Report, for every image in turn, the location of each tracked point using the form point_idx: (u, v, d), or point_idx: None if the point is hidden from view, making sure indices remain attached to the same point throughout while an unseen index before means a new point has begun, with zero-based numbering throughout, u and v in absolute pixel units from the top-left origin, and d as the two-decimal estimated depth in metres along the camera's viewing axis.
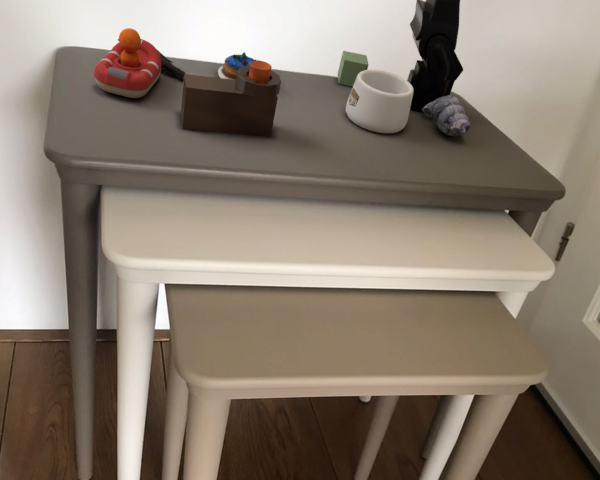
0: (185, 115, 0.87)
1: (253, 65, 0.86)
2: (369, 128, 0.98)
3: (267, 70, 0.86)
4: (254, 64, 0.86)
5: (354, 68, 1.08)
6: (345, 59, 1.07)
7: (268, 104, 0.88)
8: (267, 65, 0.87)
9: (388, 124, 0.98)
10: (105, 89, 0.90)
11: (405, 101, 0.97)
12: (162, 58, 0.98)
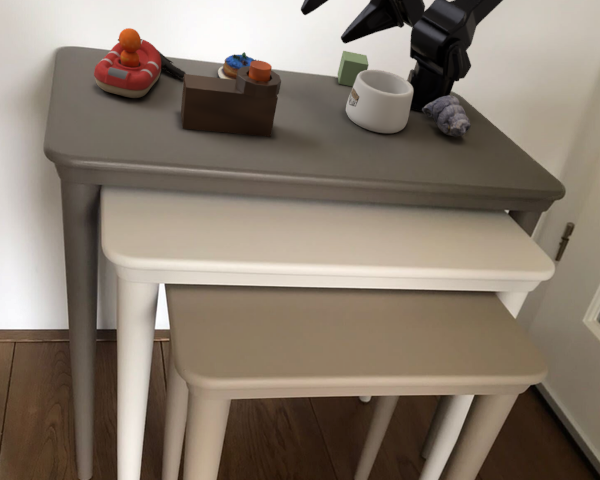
0: (185, 115, 0.87)
1: (253, 65, 0.86)
2: (369, 128, 0.98)
3: (267, 70, 0.86)
4: (254, 64, 0.86)
5: (354, 68, 1.08)
6: (345, 59, 1.07)
7: (268, 104, 0.88)
8: (267, 65, 0.87)
9: (388, 124, 0.98)
10: (105, 89, 0.90)
11: (405, 101, 0.97)
12: (162, 58, 0.98)
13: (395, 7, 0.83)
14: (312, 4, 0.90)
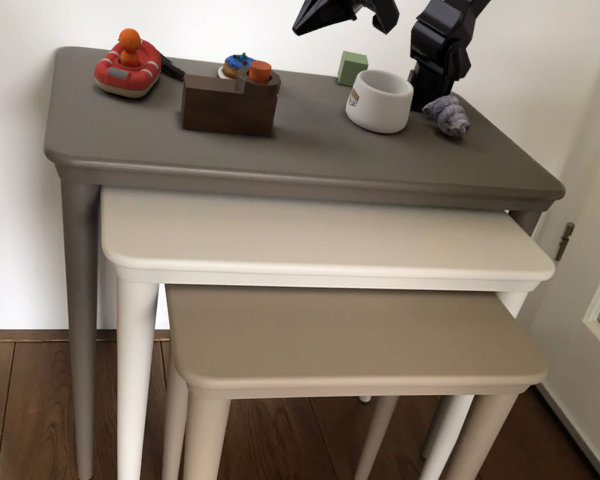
0: (185, 115, 0.87)
1: (253, 65, 0.86)
2: (369, 128, 0.98)
3: (267, 70, 0.86)
4: (254, 64, 0.86)
5: (354, 68, 1.08)
6: (345, 59, 1.07)
7: (268, 104, 0.88)
8: (267, 65, 0.87)
9: (388, 124, 0.98)
10: (105, 89, 0.90)
11: (405, 101, 0.97)
12: (162, 58, 0.98)
13: (347, 0, 0.83)
14: None
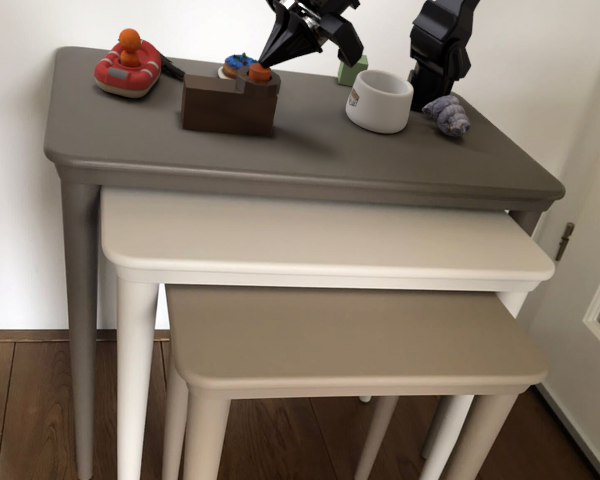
0: (185, 115, 0.87)
1: (253, 68, 0.86)
2: (369, 128, 0.98)
3: (267, 73, 0.86)
4: (254, 67, 0.86)
5: (354, 68, 1.08)
6: None
7: (268, 104, 0.88)
8: (267, 68, 0.87)
9: (388, 124, 0.98)
10: (105, 89, 0.90)
11: (405, 101, 0.97)
12: (162, 58, 0.98)
13: (312, 34, 0.83)
14: None
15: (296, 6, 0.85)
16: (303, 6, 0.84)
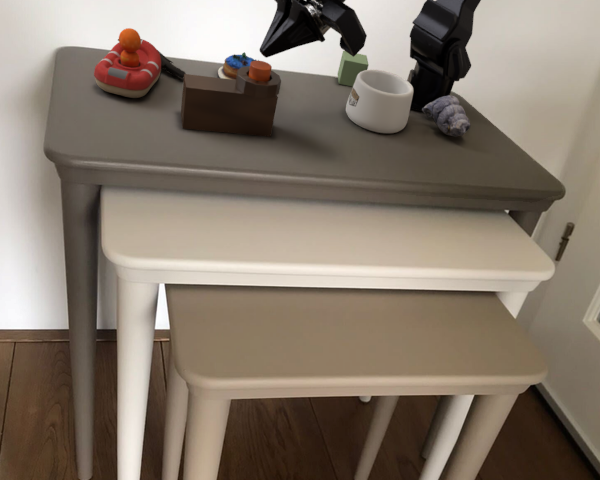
0: (185, 115, 0.87)
1: (253, 66, 0.86)
2: (369, 128, 0.98)
3: (267, 70, 0.86)
4: (254, 64, 0.86)
5: (354, 68, 1.08)
6: (345, 59, 1.07)
7: (268, 104, 0.88)
8: (267, 65, 0.87)
9: (388, 124, 0.98)
10: (105, 89, 0.90)
11: (405, 101, 0.97)
12: (162, 58, 0.98)
13: (313, 22, 0.82)
14: None
15: None
16: None
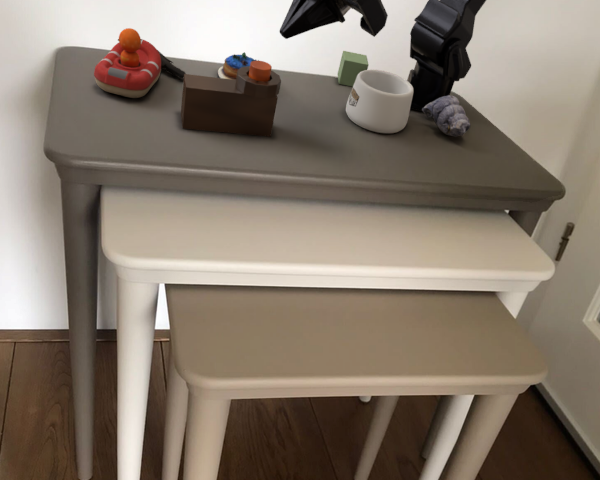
0: (185, 115, 0.87)
1: (253, 66, 0.86)
2: (369, 128, 0.98)
3: (267, 70, 0.86)
4: (254, 64, 0.86)
5: (354, 68, 1.08)
6: (345, 59, 1.07)
7: (268, 104, 0.88)
8: (267, 65, 0.87)
9: (388, 124, 0.98)
10: (105, 89, 0.90)
11: (405, 101, 0.97)
12: (162, 58, 0.98)
13: (334, 2, 0.82)
14: None
15: None
16: None
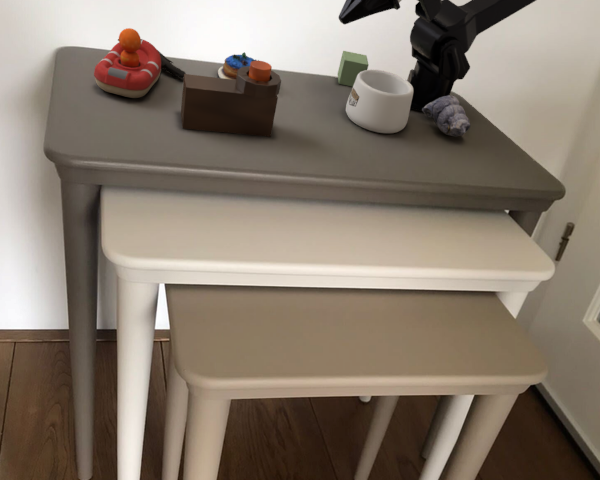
0: (185, 115, 0.87)
1: (253, 66, 0.86)
2: (369, 128, 0.98)
3: (267, 70, 0.86)
4: (254, 64, 0.86)
5: (354, 68, 1.08)
6: (345, 59, 1.07)
7: (268, 104, 0.88)
8: (267, 65, 0.87)
9: (388, 124, 0.98)
10: (105, 89, 0.90)
11: (405, 101, 0.97)
12: (162, 58, 0.98)
13: None
14: None
15: None
16: None
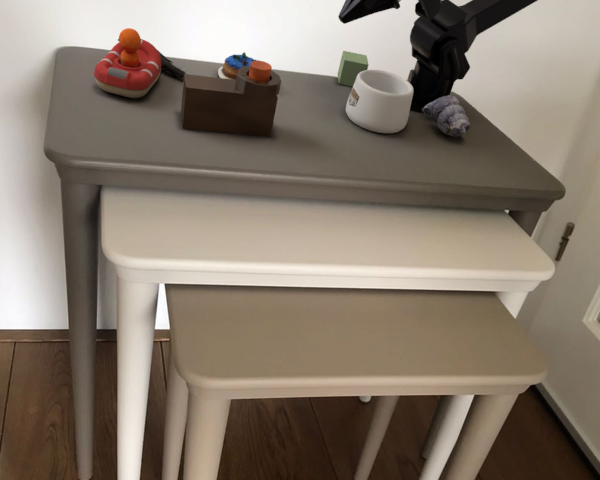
0: (185, 115, 0.87)
1: (253, 66, 0.86)
2: (369, 128, 0.98)
3: (267, 70, 0.86)
4: (254, 64, 0.86)
5: (354, 68, 1.08)
6: (345, 59, 1.07)
7: (268, 104, 0.88)
8: (267, 65, 0.87)
9: (388, 124, 0.98)
10: (105, 89, 0.90)
11: (405, 101, 0.97)
12: (162, 58, 0.98)
13: None
14: None
15: None
16: None
